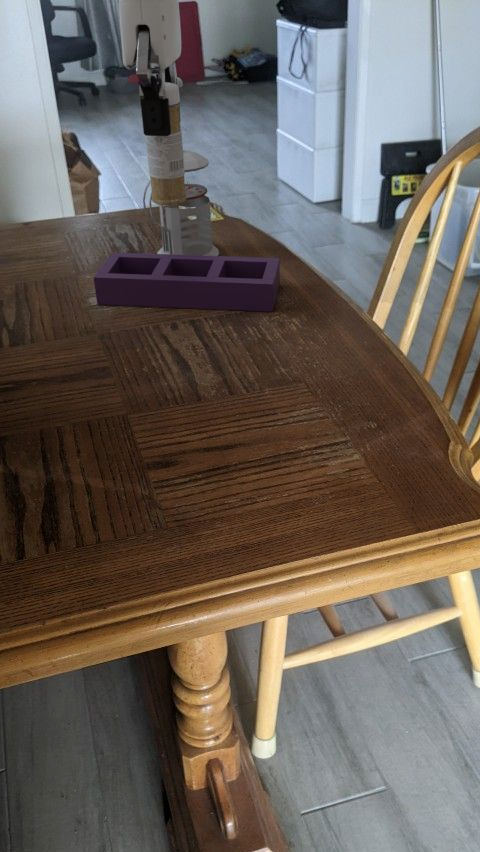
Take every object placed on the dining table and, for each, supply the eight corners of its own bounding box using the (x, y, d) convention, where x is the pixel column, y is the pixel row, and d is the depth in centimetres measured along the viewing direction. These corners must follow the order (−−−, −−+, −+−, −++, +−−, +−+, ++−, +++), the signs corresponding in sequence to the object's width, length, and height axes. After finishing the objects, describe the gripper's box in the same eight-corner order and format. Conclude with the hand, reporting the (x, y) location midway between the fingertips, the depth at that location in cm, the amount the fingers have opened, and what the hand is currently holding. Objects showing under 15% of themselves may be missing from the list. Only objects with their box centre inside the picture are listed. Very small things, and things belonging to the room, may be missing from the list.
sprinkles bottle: (177, 193, 102) (168, 79, 94) (193, 202, 99) (185, 85, 91) (145, 199, 100) (133, 83, 92) (160, 209, 97) (149, 90, 89)
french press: (231, 254, 122) (225, 77, 107) (170, 273, 116) (154, 89, 101) (195, 237, 128) (184, 68, 113) (135, 254, 122) (114, 78, 107)
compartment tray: (273, 312, 105) (272, 283, 103) (97, 304, 108) (93, 277, 105) (279, 284, 113) (279, 258, 110) (115, 278, 115) (111, 252, 113)
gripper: (132, -58, 90) (149, 113, 101) (89, -48, 77) (113, 147, 88) (196, -58, 90) (205, 114, 101) (163, -48, 76) (178, 148, 87)
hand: (162, 127), depth 94 cm, fingers closed on sprinkles bottle, 4 cm apart
